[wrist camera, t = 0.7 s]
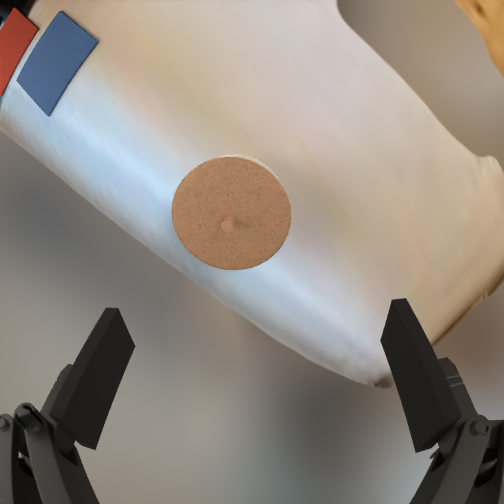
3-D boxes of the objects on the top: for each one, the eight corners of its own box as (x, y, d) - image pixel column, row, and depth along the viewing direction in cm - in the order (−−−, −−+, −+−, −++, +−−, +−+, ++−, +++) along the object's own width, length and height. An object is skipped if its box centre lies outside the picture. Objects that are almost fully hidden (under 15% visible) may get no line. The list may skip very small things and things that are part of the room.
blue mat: (17, 80, 29) (16, 80, 29) (60, 11, 24) (59, 10, 24) (49, 116, 33) (47, 116, 33) (98, 41, 28) (97, 41, 28)
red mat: (-18, 68, 27) (-20, 68, 26) (15, 7, 22) (13, 7, 21) (2, 95, 30) (1, 95, 30) (39, 29, 25) (37, 28, 25)
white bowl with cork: (187, 150, 36) (156, 167, 26) (286, 144, 35) (291, 159, 25) (198, 237, 42) (176, 280, 32) (287, 235, 40) (291, 280, 31)
